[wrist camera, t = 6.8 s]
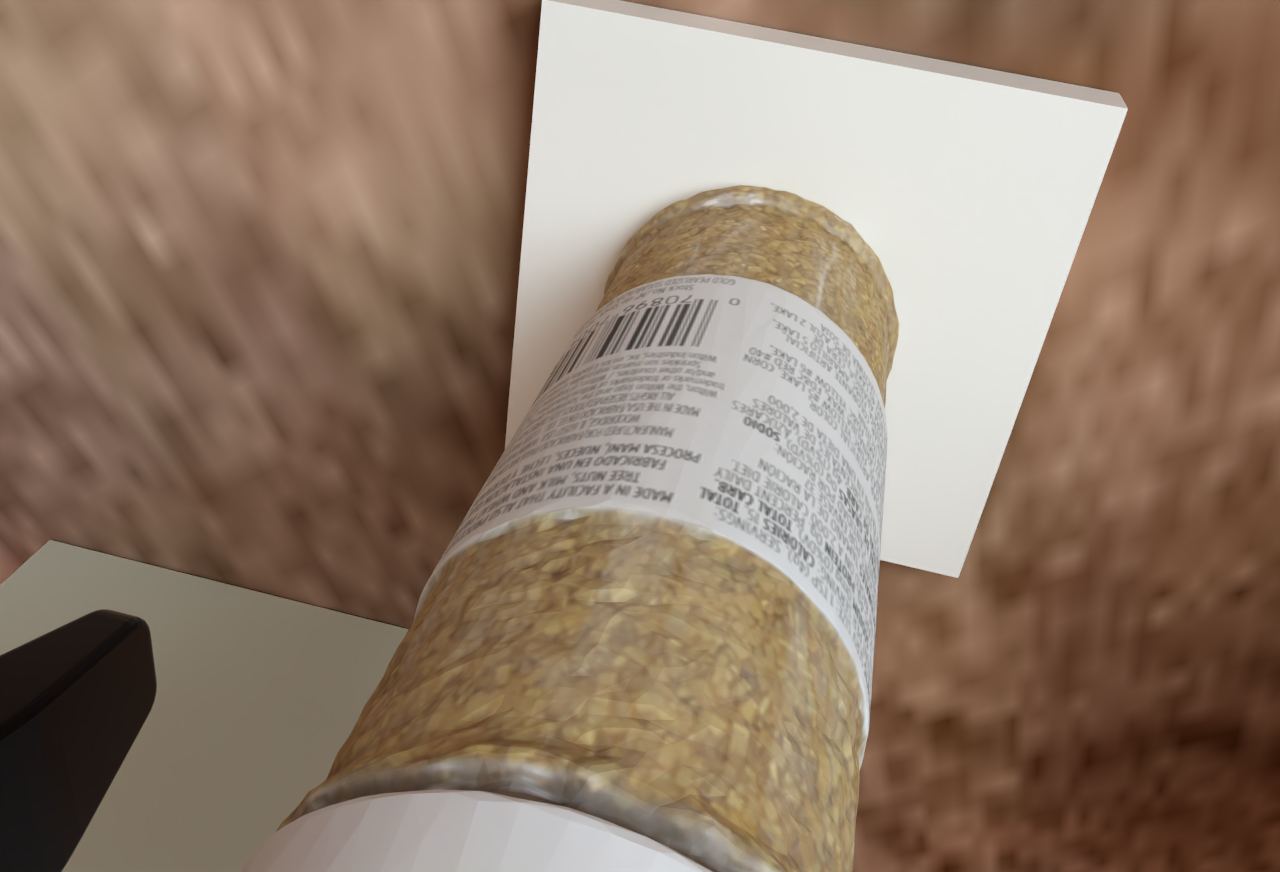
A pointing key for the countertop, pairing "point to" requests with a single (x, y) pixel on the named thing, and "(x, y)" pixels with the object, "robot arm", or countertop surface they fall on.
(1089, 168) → the tile pad
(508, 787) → the seasoning jar
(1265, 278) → the countertop surface
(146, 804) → the pale green board
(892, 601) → the countertop surface
